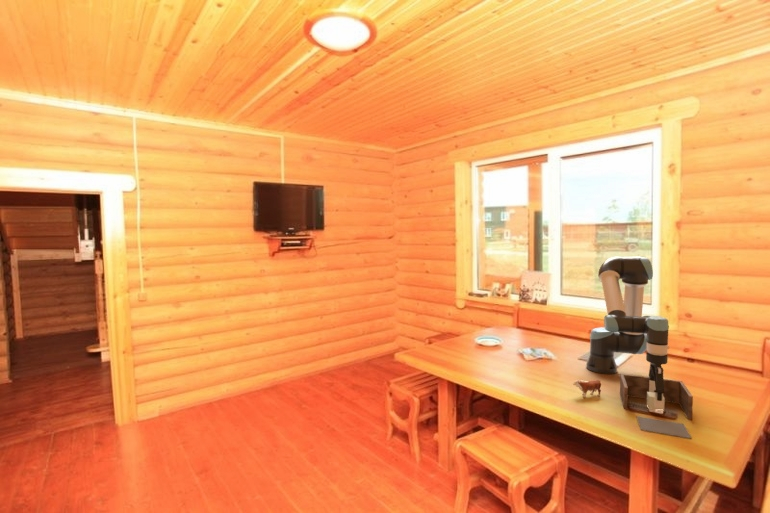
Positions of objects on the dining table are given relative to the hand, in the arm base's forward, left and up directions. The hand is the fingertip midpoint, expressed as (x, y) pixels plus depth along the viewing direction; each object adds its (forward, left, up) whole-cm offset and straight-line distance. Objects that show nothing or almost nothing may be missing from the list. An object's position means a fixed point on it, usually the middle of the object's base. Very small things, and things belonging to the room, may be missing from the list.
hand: (655, 401), depth 169 cm
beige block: (0, 0, -4) cm, 4 cm away
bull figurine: (-26, +5, -5) cm, 27 cm away
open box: (0, +4, -4) cm, 6 cm away
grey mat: (0, -16, -4) cm, 16 cm away
